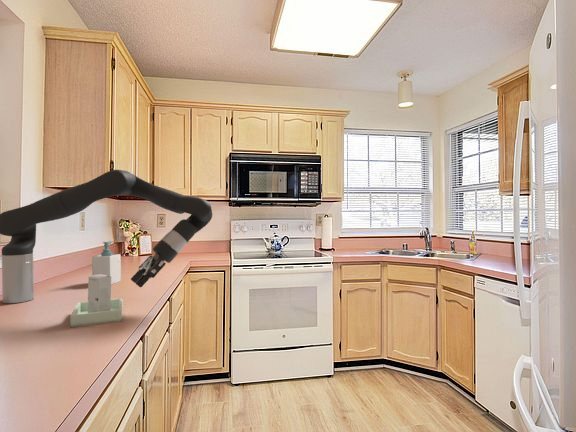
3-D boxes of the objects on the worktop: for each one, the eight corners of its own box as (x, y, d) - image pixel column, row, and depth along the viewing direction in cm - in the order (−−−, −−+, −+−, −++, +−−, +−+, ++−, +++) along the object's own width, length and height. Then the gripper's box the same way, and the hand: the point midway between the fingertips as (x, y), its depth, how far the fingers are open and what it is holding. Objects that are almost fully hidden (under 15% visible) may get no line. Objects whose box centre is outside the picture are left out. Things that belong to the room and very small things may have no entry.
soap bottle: (121, 281, 165) (120, 240, 165) (110, 285, 156) (109, 242, 156) (104, 281, 166) (103, 240, 166) (92, 284, 157) (91, 242, 157)
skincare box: (87, 314, 108) (86, 276, 108) (101, 311, 112) (100, 273, 112) (98, 318, 105) (97, 277, 105) (112, 314, 109) (111, 275, 109)
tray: (78, 312, 113) (78, 302, 113) (122, 307, 119) (122, 298, 119) (70, 327, 99) (70, 315, 99) (121, 321, 104) (121, 310, 104)
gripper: (156, 237, 125) (122, 273, 119) (167, 240, 113) (130, 279, 107) (172, 251, 128) (139, 286, 122) (184, 255, 116) (148, 294, 110)
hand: (135, 283), depth 114 cm, fingers open, 8 cm apart
